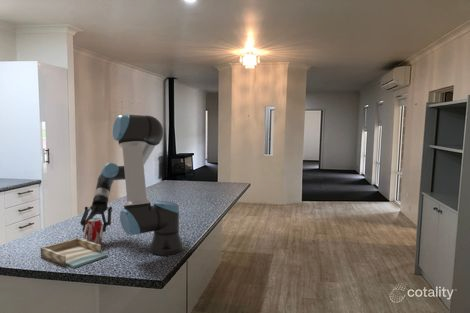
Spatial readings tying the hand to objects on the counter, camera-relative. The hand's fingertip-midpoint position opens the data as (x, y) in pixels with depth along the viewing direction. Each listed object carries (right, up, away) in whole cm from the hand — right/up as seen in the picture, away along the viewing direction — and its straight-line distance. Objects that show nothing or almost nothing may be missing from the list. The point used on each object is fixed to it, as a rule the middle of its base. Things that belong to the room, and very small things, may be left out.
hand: (92, 237), depth 170 cm
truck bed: (-2, -5, -14) cm, 16 cm away
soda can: (0, -4, +4) cm, 6 cm away
